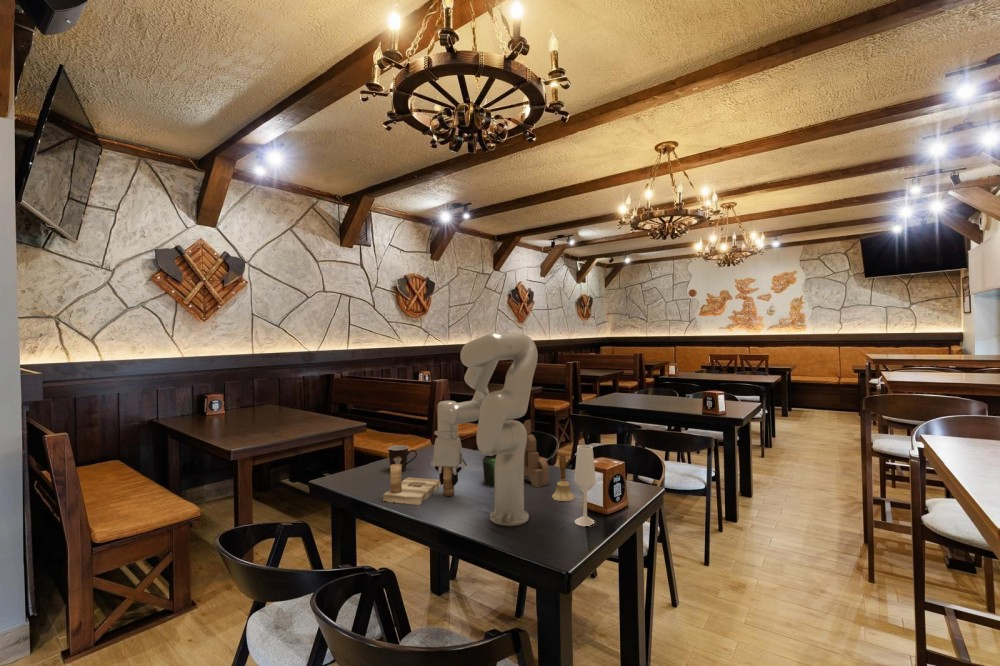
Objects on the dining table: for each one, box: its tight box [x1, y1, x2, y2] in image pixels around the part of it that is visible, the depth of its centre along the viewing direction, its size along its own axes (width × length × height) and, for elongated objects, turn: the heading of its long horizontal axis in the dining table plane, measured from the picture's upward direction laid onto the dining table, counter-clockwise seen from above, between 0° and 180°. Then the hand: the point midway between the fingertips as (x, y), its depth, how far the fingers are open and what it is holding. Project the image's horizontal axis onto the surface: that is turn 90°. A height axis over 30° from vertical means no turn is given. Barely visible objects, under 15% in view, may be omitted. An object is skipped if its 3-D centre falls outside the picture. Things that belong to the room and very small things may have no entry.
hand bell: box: [551, 453, 576, 502], centre depth 168 cm, size 8×8×16 cm
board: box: [382, 464, 442, 506], centre depth 172 cm, size 20×14×12 cm
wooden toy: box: [522, 419, 550, 488], centre depth 187 cm, size 16×7×25 cm, turn 39°
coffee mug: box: [387, 444, 418, 473], centre depth 201 cm, size 12×9×10 cm
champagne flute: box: [573, 444, 597, 527], centre depth 146 cm, size 7×7×24 cm
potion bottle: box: [482, 455, 497, 487], centre depth 184 cm, size 8×8×18 cm
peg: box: [442, 467, 455, 497], centre depth 171 cm, size 4×4×12 cm
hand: (448, 483), depth 171 cm, fingers closed on peg, 4 cm apart
